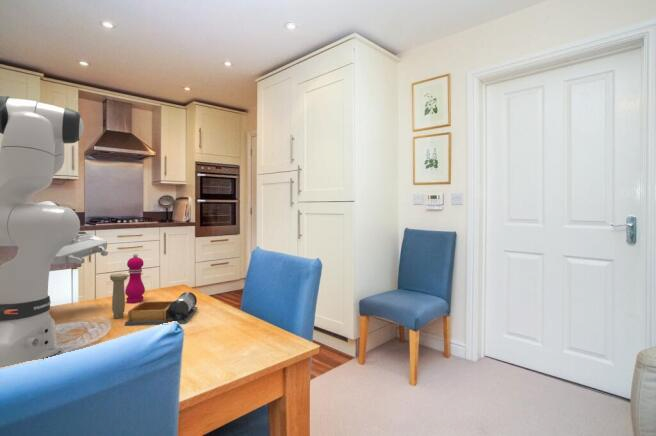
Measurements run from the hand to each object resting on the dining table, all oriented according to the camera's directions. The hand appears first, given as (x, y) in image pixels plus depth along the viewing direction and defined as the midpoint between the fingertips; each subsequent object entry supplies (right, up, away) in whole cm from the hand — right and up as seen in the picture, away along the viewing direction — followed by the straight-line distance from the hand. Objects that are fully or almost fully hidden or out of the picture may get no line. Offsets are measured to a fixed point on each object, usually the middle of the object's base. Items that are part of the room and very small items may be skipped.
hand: (94, 257), depth 124 cm
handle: (+9, -21, -1) cm, 23 cm away
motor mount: (+25, -21, 0) cm, 32 cm away
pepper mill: (+3, -21, +21) cm, 30 cm away
